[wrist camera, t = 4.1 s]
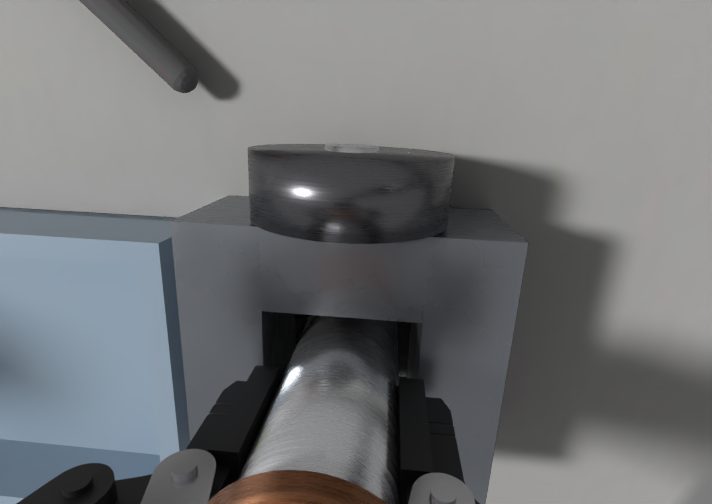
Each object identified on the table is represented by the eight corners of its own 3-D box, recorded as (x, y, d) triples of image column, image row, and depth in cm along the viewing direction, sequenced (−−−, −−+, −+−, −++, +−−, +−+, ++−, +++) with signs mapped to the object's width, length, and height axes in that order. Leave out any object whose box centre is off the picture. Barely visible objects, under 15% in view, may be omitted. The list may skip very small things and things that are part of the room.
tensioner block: (500, 147, 15) (565, 163, 9) (461, 434, 19) (491, 571, 13) (225, 135, 16) (129, 143, 10) (239, 413, 19) (174, 535, 14)
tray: (205, 219, 17) (158, 243, 14) (221, 464, 20) (187, 531, 17) (-163, 197, 18) (-290, 214, 15) (-87, 433, 22) (-176, 490, 18)
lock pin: (411, 276, 17) (443, 572, 6) (403, 374, 18) (417, 767, 7) (301, 269, 17) (132, 537, 6) (301, 366, 18) (162, 729, 7)
